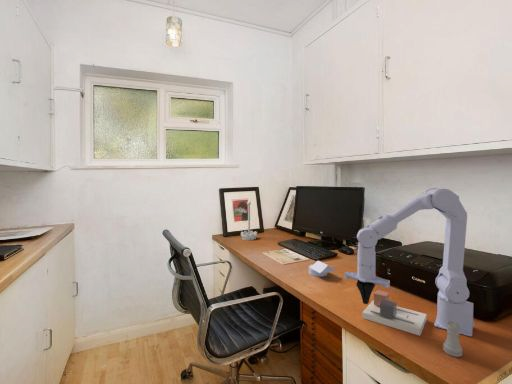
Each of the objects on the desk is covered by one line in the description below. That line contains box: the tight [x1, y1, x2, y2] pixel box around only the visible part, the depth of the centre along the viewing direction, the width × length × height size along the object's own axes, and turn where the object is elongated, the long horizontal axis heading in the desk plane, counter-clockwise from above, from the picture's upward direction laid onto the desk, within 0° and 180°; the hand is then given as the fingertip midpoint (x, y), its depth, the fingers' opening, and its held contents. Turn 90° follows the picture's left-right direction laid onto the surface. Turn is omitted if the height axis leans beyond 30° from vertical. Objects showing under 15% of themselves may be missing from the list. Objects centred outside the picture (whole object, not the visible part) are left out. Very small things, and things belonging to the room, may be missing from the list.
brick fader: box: [373, 289, 390, 306], centre depth 98 cm, size 4×4×4 cm
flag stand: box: [240, 201, 258, 241], centre depth 220 cm, size 13×13×30 cm
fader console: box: [361, 299, 428, 336], centre depth 92 cm, size 17×12×2 cm
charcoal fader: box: [380, 299, 398, 319], centre depth 90 cm, size 4×4×4 cm
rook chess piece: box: [442, 321, 464, 358], centre depth 74 cm, size 4×4×8 cm
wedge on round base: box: [308, 260, 336, 277], centre depth 136 cm, size 9×7×13 cm
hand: (365, 302), depth 94 cm, fingers closed
